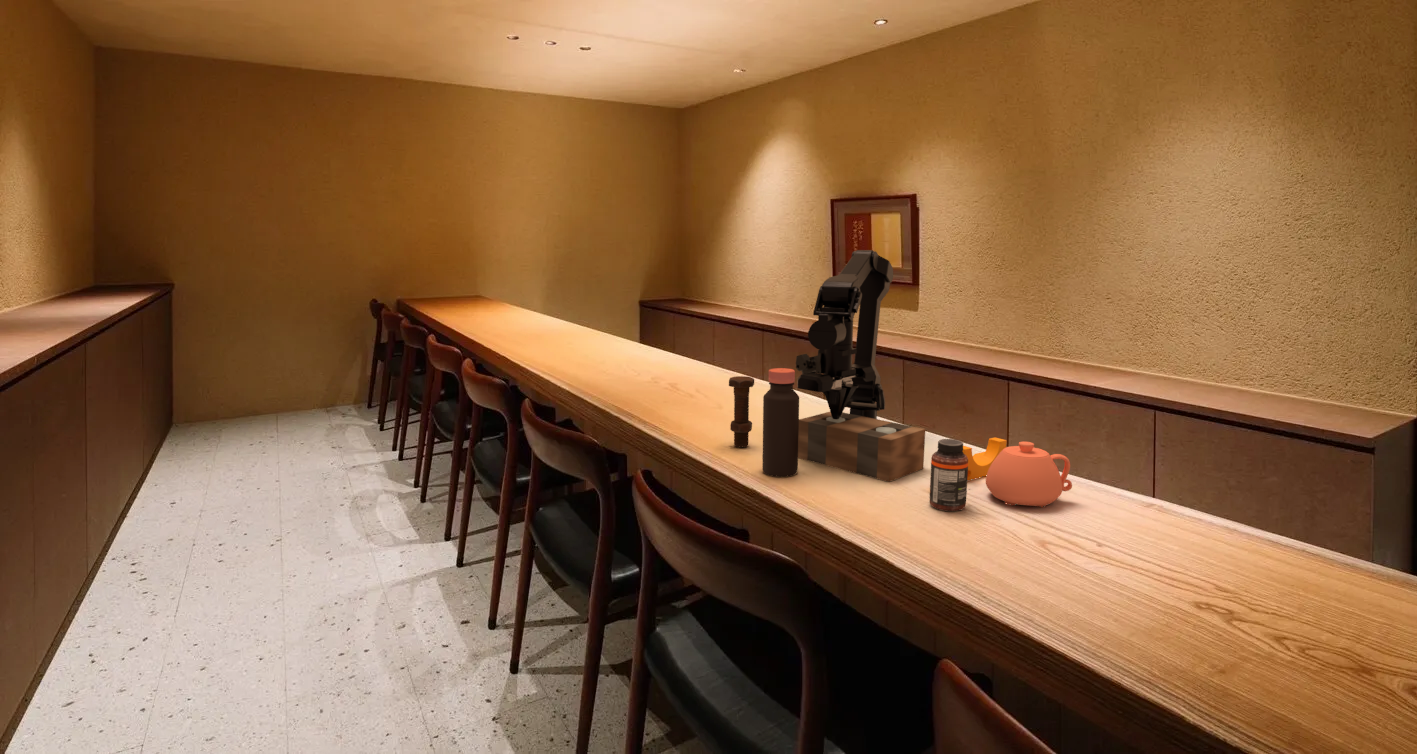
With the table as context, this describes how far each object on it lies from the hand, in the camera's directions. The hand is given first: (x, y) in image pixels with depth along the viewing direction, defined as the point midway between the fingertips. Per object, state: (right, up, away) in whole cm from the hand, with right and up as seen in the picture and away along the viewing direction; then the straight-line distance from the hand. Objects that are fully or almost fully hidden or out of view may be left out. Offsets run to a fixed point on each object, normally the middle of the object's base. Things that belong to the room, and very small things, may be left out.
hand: (835, 418), depth 157 cm
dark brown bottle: (-12, -10, -9) cm, 18 cm away
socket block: (+4, -9, -3) cm, 10 cm away
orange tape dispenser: (+25, -10, -10) cm, 29 cm away
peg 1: (0, -7, +1) cm, 7 cm away
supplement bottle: (+14, -13, -27) cm, 34 cm away
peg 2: (+8, -8, -7) cm, 14 cm away
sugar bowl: (+29, -13, -24) cm, 40 cm away
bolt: (-19, -7, +9) cm, 22 cm away
